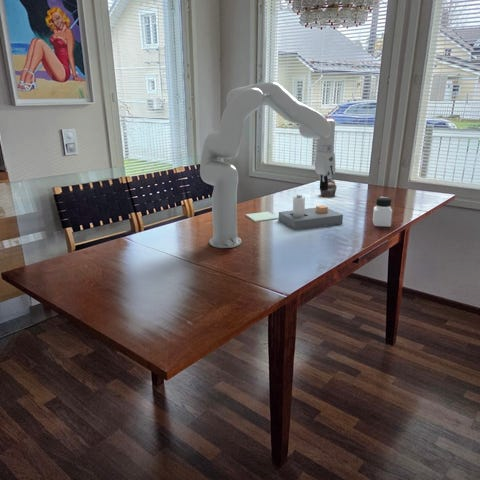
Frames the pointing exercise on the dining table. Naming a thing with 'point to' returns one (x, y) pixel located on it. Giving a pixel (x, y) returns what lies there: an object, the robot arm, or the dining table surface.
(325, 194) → the cupcake
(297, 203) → the cylinder
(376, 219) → the medicine bottle
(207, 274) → the dining table surface
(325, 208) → the tan cube
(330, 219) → the housing
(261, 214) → the mat
